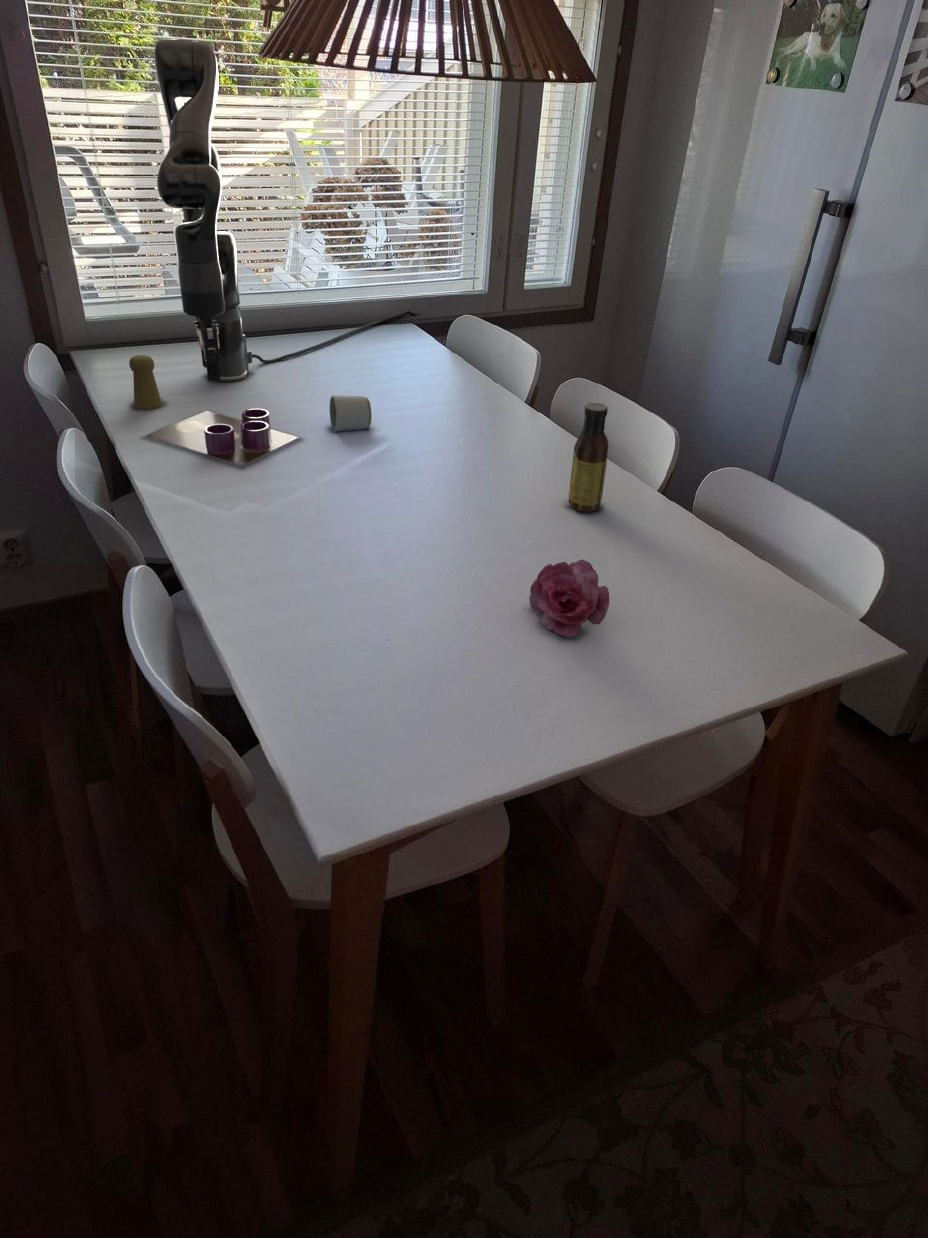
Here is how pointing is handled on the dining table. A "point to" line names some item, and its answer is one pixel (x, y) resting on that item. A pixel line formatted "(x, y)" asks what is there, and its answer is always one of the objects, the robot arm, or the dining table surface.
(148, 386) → the yellow pawn figure
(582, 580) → the flower
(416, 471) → the dining table surface
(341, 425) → the ceramic mug
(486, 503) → the dining table surface
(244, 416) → the plum dish
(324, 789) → the dining table surface
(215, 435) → the plum dish
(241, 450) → the metal board
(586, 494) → the sauce bottle
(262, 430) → the plum dish
